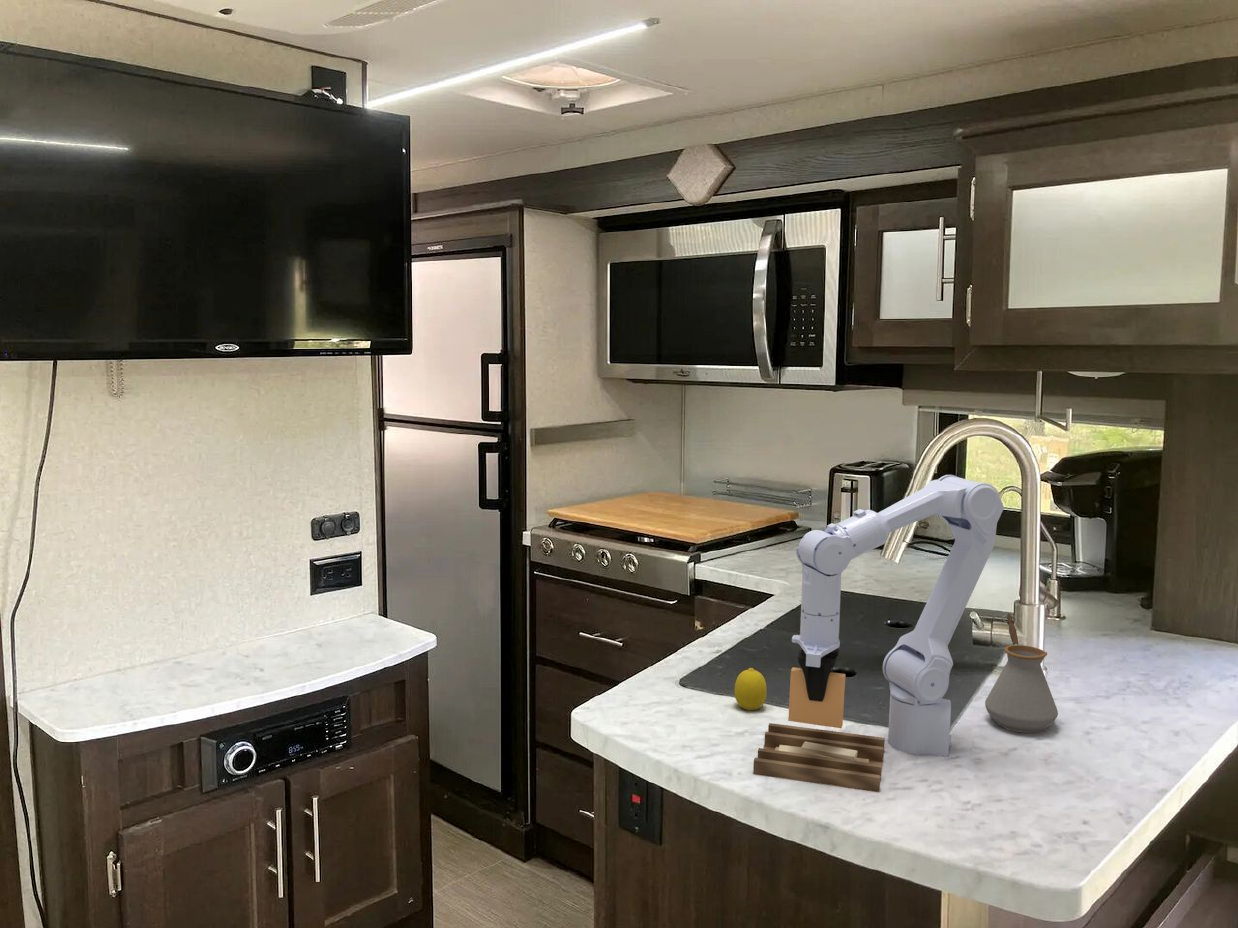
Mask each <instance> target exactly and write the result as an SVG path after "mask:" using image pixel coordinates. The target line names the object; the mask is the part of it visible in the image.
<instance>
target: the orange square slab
mask: <svg viewBox="0 0 1238 928" xmlns="http://www.w3.org/2000/svg"><path fill="white" fill-rule="evenodd" d="M789 683H790V684H789V700H788V703H789V704H788V718H787V719H788V720H787V721H789V722H795V723H801V724H808V725H814V726H822V727H827V728H828V727H829V728H835V729H842V728H843V725H844V722H843V721H844V706H845V689H846V687H845V686H846V673H840V672H834V671H831V672H830V674H829V678H828V682H827V687H826V692H825V696H824V699H823V702H819V701H811V700H809V698H808V694H807V688H806V682H805V677H804V673H803V670H802V668H801V667H791V670H790V681H789Z"/></svg>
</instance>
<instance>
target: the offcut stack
mask: <svg viewBox="0 0 1238 928" xmlns="http://www.w3.org/2000/svg"><path fill="white" fill-rule="evenodd" d="M775 750H778V751H785V752H793V753H800V754H807V755H814V756H822V757H829V758H836V759H844V760H851V761H858V762H866V763H869V759H863V758H856V757H857V750H851V749H845V748H840V747H834V746H828V745H823V744H817V743H811V742H804V744H803V745H802V747H796V746H786V745H779V747H776V748H775Z"/></svg>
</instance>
